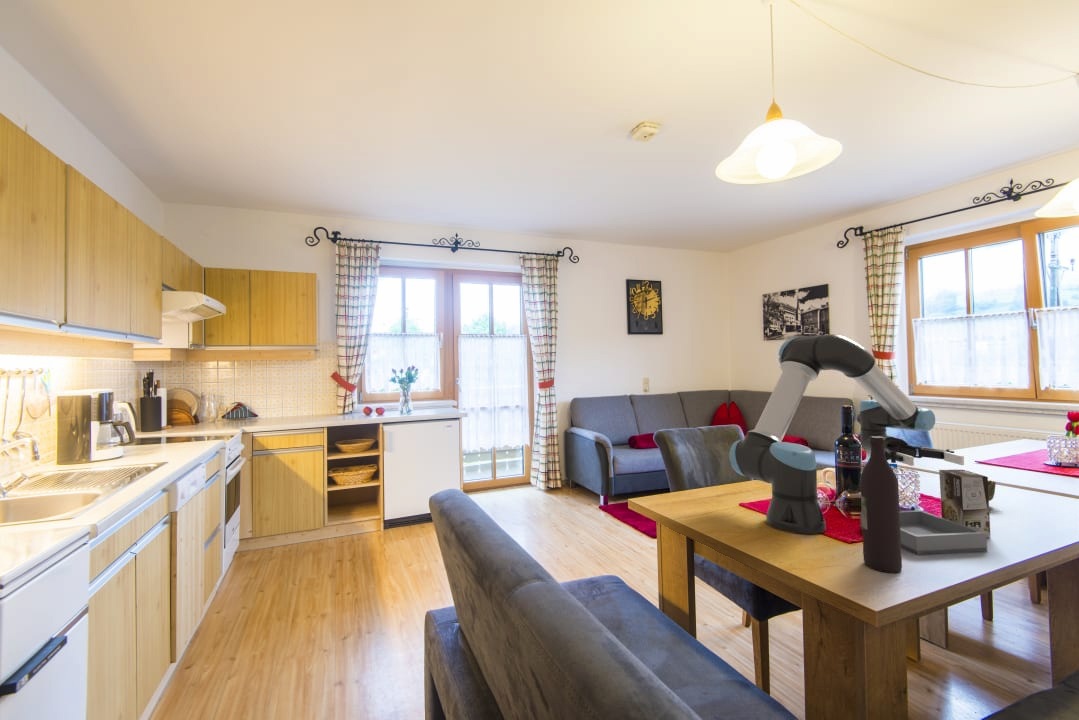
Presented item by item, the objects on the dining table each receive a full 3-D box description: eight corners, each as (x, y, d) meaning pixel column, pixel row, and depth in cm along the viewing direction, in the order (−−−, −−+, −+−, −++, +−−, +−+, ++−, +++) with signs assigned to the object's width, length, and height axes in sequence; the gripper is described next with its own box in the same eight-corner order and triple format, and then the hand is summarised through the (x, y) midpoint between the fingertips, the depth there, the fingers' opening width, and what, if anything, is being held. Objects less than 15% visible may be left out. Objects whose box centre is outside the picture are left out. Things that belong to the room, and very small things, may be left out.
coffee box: (992, 538, 118) (989, 476, 119) (963, 536, 120) (961, 476, 120) (966, 525, 127) (964, 469, 128) (940, 524, 129) (938, 468, 129)
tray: (917, 555, 109) (916, 536, 109) (860, 528, 127) (860, 512, 127) (987, 551, 110) (986, 533, 110) (921, 526, 128) (920, 510, 128)
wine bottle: (882, 559, 108) (877, 434, 108) (910, 572, 101) (904, 438, 101) (856, 561, 107) (850, 435, 107) (882, 575, 100) (876, 440, 100)
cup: (970, 507, 143) (969, 482, 143) (960, 500, 150) (959, 476, 150) (1001, 509, 140) (1000, 484, 140) (990, 503, 146) (989, 478, 147)
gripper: (931, 458, 153) (984, 473, 132) (852, 459, 156) (892, 473, 135) (930, 436, 153) (983, 447, 132) (851, 437, 156) (891, 449, 135)
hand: (937, 460), depth 134 cm, fingers open, 13 cm apart
